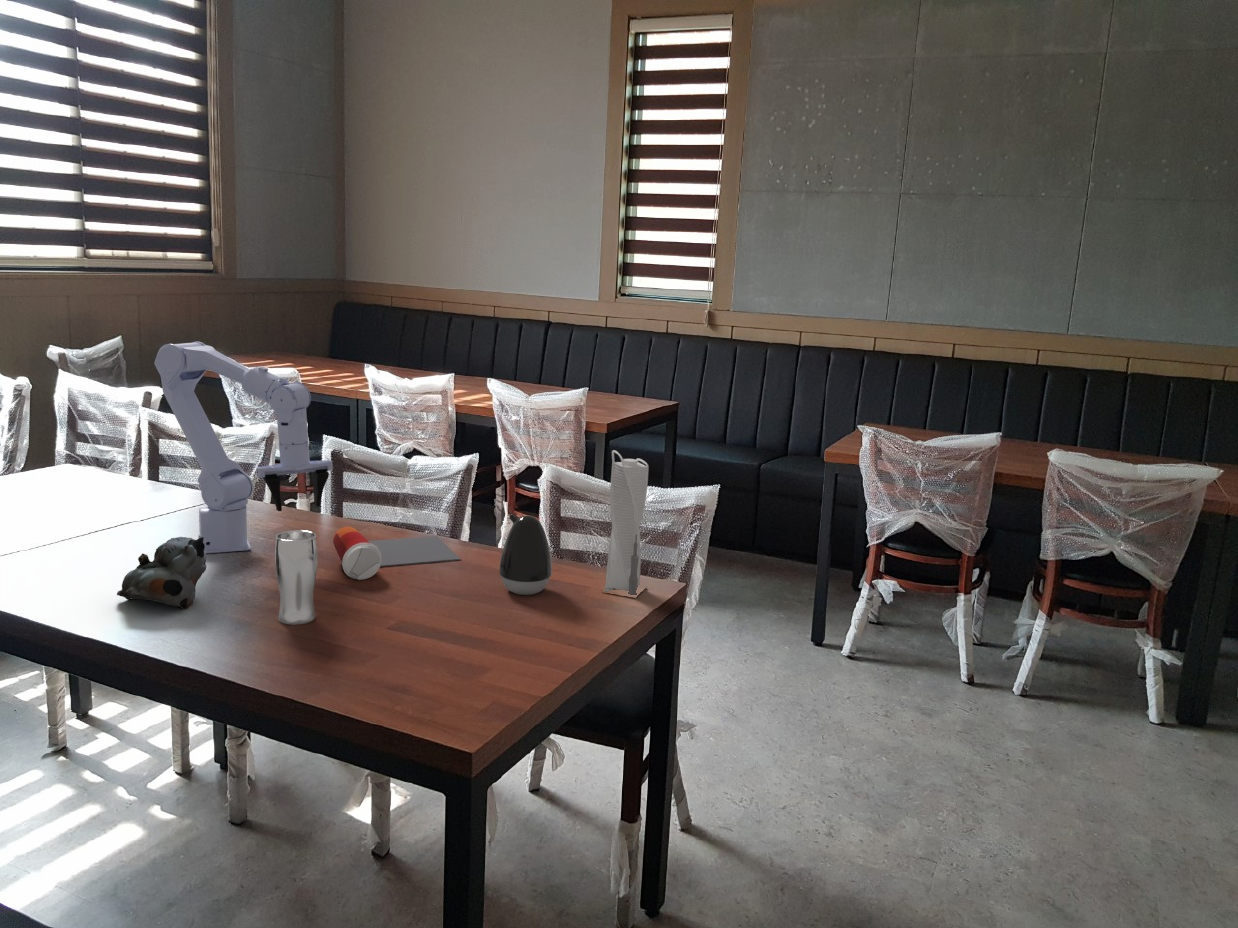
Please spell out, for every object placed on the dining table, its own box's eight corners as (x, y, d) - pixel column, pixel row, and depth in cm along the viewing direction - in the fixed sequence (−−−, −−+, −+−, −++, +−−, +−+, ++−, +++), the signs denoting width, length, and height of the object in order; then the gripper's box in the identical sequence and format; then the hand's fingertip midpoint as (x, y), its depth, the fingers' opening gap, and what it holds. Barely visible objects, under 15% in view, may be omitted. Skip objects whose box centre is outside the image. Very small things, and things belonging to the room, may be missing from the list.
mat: (375, 567, 193) (375, 566, 193) (357, 543, 209) (357, 541, 209) (460, 560, 201) (460, 558, 201) (436, 537, 217) (436, 535, 217)
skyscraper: (595, 591, 187) (603, 453, 181) (609, 580, 194) (617, 446, 189) (635, 598, 184) (644, 458, 178) (648, 586, 191) (657, 451, 186)
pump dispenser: (527, 578, 192) (531, 506, 189) (561, 592, 185) (565, 518, 182) (487, 588, 185) (490, 513, 182) (520, 603, 178) (523, 525, 175)
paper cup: (348, 563, 198) (365, 588, 186) (319, 543, 193) (335, 568, 182) (373, 534, 198) (391, 558, 187) (345, 514, 194) (362, 537, 183)
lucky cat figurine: (113, 595, 169) (144, 522, 172) (182, 614, 174) (210, 543, 178) (119, 598, 156) (151, 518, 160) (193, 618, 162) (223, 541, 165)
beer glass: (293, 629, 159) (293, 543, 156) (266, 619, 162) (265, 535, 159) (326, 617, 165) (326, 535, 162) (299, 608, 168) (299, 527, 165)
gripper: (260, 448, 185) (265, 516, 188) (334, 442, 192) (338, 507, 195) (253, 444, 191) (258, 509, 194) (326, 437, 198) (330, 500, 201)
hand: (298, 507), depth 195 cm, fingers open, 7 cm apart
